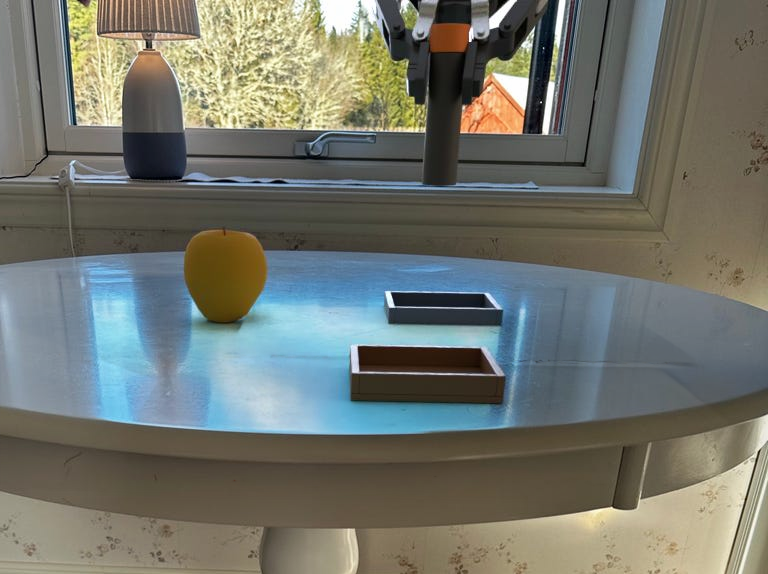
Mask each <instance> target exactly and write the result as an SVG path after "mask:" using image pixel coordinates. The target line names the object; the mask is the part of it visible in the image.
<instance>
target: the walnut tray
mask: <svg viewBox="0 0 768 574" xmlns="http://www.w3.org/2000/svg"><path fill="white" fill-rule="evenodd" d="M348 366H349V367H348V371H349V374H348V375H349V394H350V395H349V396H350V401H357V402H359V401H360V402H361V401H362V402H368V401H369V402H410V403H411V402H412V403H418V402H419V403H461V404H465V403H466V404H503V403H504V396H505V390H506V380H507V376H506V374H505V372H504V371H503V369H502V368H501V366H500V365H499V363H498V362H497V360H496V359H495V357H494V356H493V353H492V352H491V351H490V349H489V347H488V346H470V345H469V346H467V345H466V346H465V345H463V346H461V345H415V344H414V345H412V344H411V345H407V344H361V343H360V344H359V343H358V344H353V343H352V344H349V365H348Z"/></svg>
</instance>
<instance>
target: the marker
mask: <svg viewBox="0 0 768 574" xmlns="http://www.w3.org/2000/svg"><path fill="white" fill-rule="evenodd" d="M469 41H470V25H469V24H454V23H450V24H434V25H431V31H430V49H429V53H431V54H430V67H429V81H428V87H427V96H426V114H425V131H424V142H423V143H424V145H423V158H422V159H423V160H422V175H421V185H422V186H431V187H432V186H433V187H451V186H456V185H457V176H458V167H459V166H458V165H459V153H460V140H461V130H462V129H461V128H462V118H463V117H462V116H463V105H462V81H463V73H464V66H465V59H466V52H467V46H468V42H469Z"/></svg>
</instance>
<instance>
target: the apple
mask: <svg viewBox="0 0 768 574" xmlns="http://www.w3.org/2000/svg"><path fill="white" fill-rule="evenodd" d="M183 258H184V259H183V276H184V277H183V278H184V279H183V280H184V283H185V285H186V288H187V290H188V293H189V295H190V297H191V299H192V301H193V303H194V304H195V306H196V308H197V309H198V312H200V313H201V315H202V316H203V318H205V319H207V320H208V321H211V322H215V323H223V324H224V323H225V324H226V323H232V322H236V321H239V320H242V319H243V318H244V317H245V316H247V315H248V314H249V312H250V311H251V309H252V308H253V306H254V305H255V303H256V301H258V298H259V297H260V295H261V294H262V293H263V291H264V288H265V286H266V282H267V279H268V262H267V261H268V260H267V256H266V254H265V252H264V248H263V246H262V244H261V243H260V241H259V240H258V239H257V237H256V236H255V235H253V234H251V233H250V232H245V231H237V230H230V229H229V230H228V229H226V226H222V229H211V230H202V231H200V232H199V233H198V232H197V234H195V235H194V236H192V237H191V239H190V241H189V242H188V244H187V246H186V249H185V252H184V257H183Z"/></svg>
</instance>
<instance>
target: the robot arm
mask: <svg viewBox="0 0 768 574" xmlns="http://www.w3.org/2000/svg"><path fill="white" fill-rule="evenodd" d="M407 1H408V2H409V4H410V5H411V6H412V7H413V8H414V10H415V11H416V12H417V13H418V16H417V19H416V21H415V24H414V26H413V29H411V28H408V27H406V23H405V21H404V19H403V16H402V13H401V10H402V2H403V0H371V12H372V15H373V18H374V20H375V23H376V26H377V28H378V31H379V32H380V35H381V37H382V40H383V42H384V45H385V48H386V50H387V52H388V54H389V57H390V59H391V60H392V61H394V62H401V61H404V60H405V59H406V60H408V63H407V70H406V93H407V95H408V98H414V105H415V106H425V105H426V101H427V95H428V82H429V67H430V54H431V53H429V49H430V31H431V25H434V24H450V23H454V24H469V25H470V37H469V42H468V46H467V52H466V59H465V66H464V73H463V81H462V106H472V105H473V99H474V98H480V97H481V95H482V93H484V85H485V79H486V71H487V65H488V64H489V62H490V61H491V60H493V59H496V58H497V59H498V60H499V61H502V62H508V61H510V60H511V59H513V58H514V56H515V55H516V53H517V52H518V50H520V48H521V46H522V45H523V44H524V43H525V41H526V40H527V38H528V37H529V35H531V33H532V32H533V30H534V28H535V27H536V26H537V24H538V23H539V21H540V20H541V19H542V18H543V16H544V15H545V14H546V12H547V10H548V4H549V0H514V3H513V4H512V5H511V7H510V8H509V10H508V11H507V12H506V14H505V15H504V16H503V18H502V19H501V21H500V22H499V24H498V26H496V27H493V28H490V19H491V18H493V16H494V15H496V13H497V12H499V11H500V10H501V9H502V8H503V7H504V6H505V5H506V4H507V3H508V2H510V0H407Z"/></svg>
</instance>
